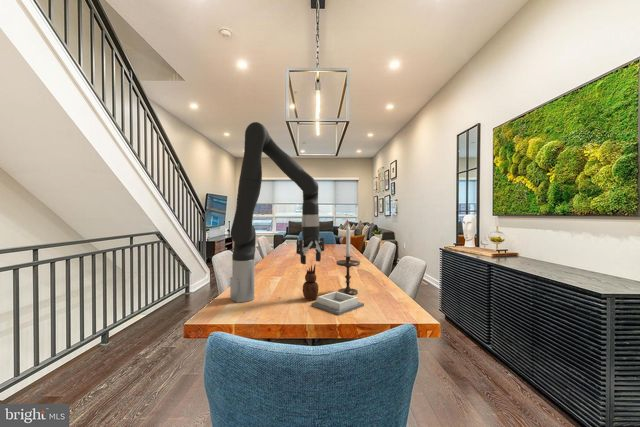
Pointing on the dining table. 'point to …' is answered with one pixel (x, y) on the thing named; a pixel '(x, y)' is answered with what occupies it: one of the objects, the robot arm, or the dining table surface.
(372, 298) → the dining table surface
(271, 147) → the robot arm
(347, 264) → the candlestick
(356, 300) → the plate
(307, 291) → the wooden figurine
